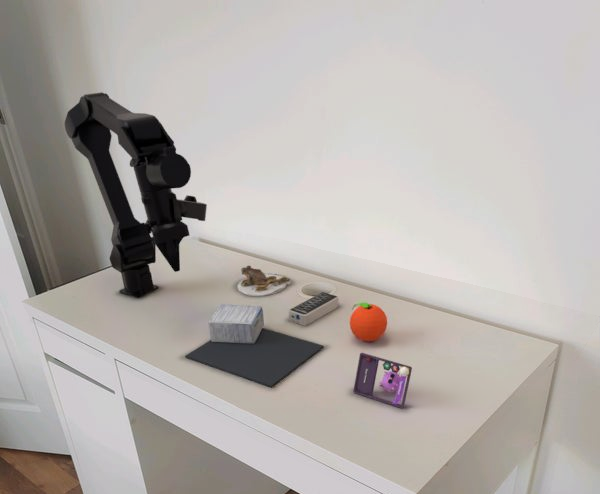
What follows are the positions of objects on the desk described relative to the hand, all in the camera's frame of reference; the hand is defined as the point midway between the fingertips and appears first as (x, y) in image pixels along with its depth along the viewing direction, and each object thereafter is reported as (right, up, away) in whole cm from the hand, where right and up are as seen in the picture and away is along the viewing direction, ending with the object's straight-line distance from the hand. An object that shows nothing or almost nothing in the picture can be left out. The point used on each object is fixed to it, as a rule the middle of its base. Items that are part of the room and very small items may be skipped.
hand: (177, 271), depth 121 cm
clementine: (+37, -14, -5) cm, 39 cm away
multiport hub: (+27, -8, +5) cm, 29 cm away
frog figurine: (+15, 0, +19) cm, 24 cm away
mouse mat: (+16, -16, -7) cm, 24 cm away
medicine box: (+8, -10, -2) cm, 13 cm away
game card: (+38, -24, -21) cm, 49 cm away
